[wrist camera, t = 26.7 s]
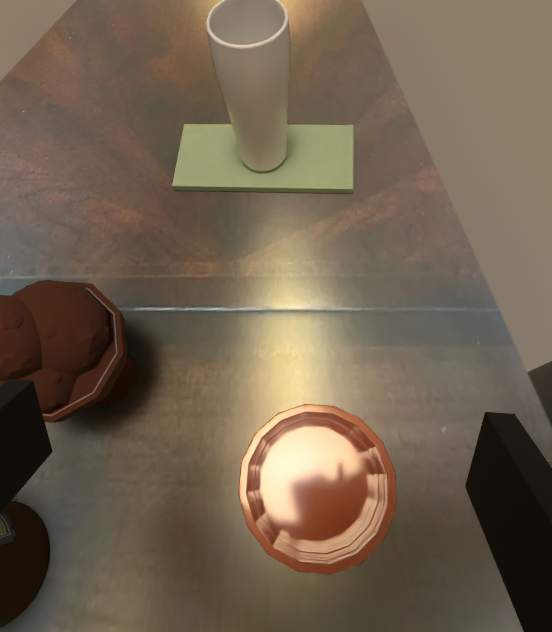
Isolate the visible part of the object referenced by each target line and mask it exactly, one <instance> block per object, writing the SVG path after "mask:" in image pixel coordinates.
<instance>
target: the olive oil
mask: <svg viewBox="0 0 552 632" xmlns="http://www.w3.org/2000/svg"><path fill="white" fill-rule="evenodd" d="M48 554H49V547H48V538H47V534H46V531H45V528H44V526H43V524H42V522H41V520H40V519H39V517H38V516H37V515H36V514H35V513H34V512H33V511H32V510H31V509H30V508H28V507H27V506H25V505H23V504H20V503H17V502H13V501H10V503H9V504H8V505H7V506H6V507H5V508H4V510H3V511H2V512H1V513H0V627H2V626H4V625H6V624H7V623H9V622H10V621H12V620H13V619H14V618H16V617H17V616H18V615H19V614H20V613H21V612H22V611H23V610H24V609H25V608H26V607H27V606H28V605H29V603H30V602H31V601H32V599H33V598H34V596H35V595H36V593H37V591H38V590H39V588H40V586H41V583H42V581H43V578H44V575H45V572H46V568H47V563H48Z"/></svg>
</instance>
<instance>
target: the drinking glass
mask: <svg viewBox="0 0 552 632" xmlns="http://www.w3.org/2000/svg"><path fill="white" fill-rule="evenodd" d="M206 28H207V33H208V40H209V46H210V51H211V56H212V61H213V65H214V69H215V73H216V77H217V80H218V83H219V87H220V90H221V93H222V96H223V99H224V102H225V106H226V109H227V112H228V115H229V118H230V121H231V124H232V128H233V131H234V134H235V137H236V141H237V144H238V149H239V153H240V157H241V160H242V161H243V163H244V164H245V165H246V166H247V167H249V168H250V169H253V170H256V171H269V170H272V169H275V168H276V167H278V166H279V165H280V164H281V163H282V162H283V161H284V159H285V157H286V154H287V123H288V105H289V89H290V69H291V48H290V31H289V18H288V12H287V9H286V7H285V6H284V5H283V3H282V2H281V1H279V0H222V1H220V2H219V3H217V4H216V5H215V6H214V7H213V8H212V10H211V11H210V13H209V14H208V17H207V20H206Z"/></svg>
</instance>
